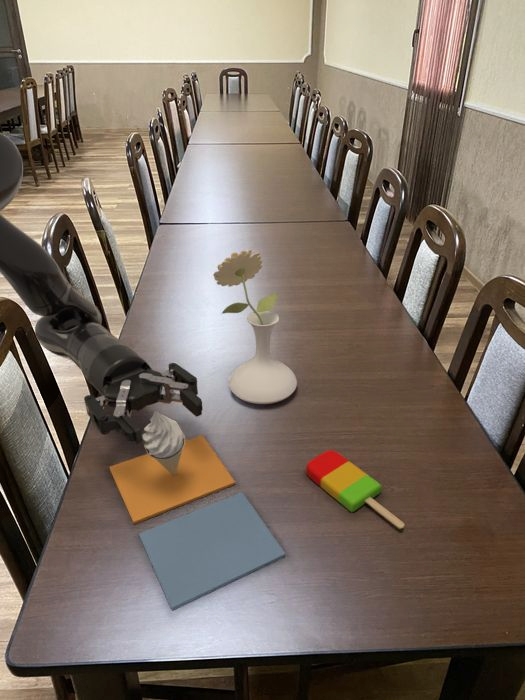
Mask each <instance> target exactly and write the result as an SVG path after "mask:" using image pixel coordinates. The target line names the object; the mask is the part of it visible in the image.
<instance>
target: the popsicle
mask: <svg viewBox="0 0 525 700" xmlns="http://www.w3.org/2000/svg"><path fill="white" fill-rule="evenodd" d="M306 475H307V477H308V478H309V479H310V480H312V481H313V482H314V483H315V484H317V485H318V486H319V487H320V488H321V489H322V490H324V491H325V492H326V493H327V494H329V495H330V496H331V497H332V498H334V500H335V501H337V502H338V503H340V504H341V505H342V506H343V507H344V508H345V509H347V510H348V511H349V512H351V513H354V512H355V511H356V510H358V509H360V508H362V506H364V505H365V504H367V505H368V506H369V507H370V508H372V509H373V510H374V511H375V512H377V513H378V514H379V515H381V516H382V517H383V518H384V519H386V520H387V521H388V522H390V523H391V524H392V525H393V526H394V527H396V528H397V529H399V530H403V529H404V528H405V523H404V522H403V521H402V520H401V519H399V518H398V517H397V516H396V515H394V514H393V513H392V512H390V511H389V510H388V509H387V508H386V507H384V506H383V505H381V504H380V503H379V502H378V501H376V500H375V499H374V498H375V497H376V496H379V494H381V492H382V489H383V486H382V484H381V483H379V482H378V481H377V480H375V479H374V478H373V477H372V476H370V475H369V474H367V473H366V472H365V471H363V470H362V469H360V468H359V467H358V466H357V465H355V464H353V463H352V462H351V461H349V459H347V458H345V457H344V456H343V455H341V454H340V453H339V452H337V451H335V450H333V449H330V450H326V451H324V452H322V453H321V454H319V455H317V456H316V457H314V458H312V459H311V460H309V461H308V462H307V464H306Z"/></svg>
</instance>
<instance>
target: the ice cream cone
mask: <svg viewBox="0 0 525 700" xmlns="http://www.w3.org/2000/svg"><path fill="white" fill-rule="evenodd" d="M149 421H150V423H148V424H147V425H146V426H145V427H144V429H143V431H144V432H145V433H142V439H143V447H144V450H145V451H146V454H149V455H150V456H151V457H153V458H155V459H156V460H157V461H158V462H159V463H160V464H161V465H162V466H163V467H164V468H165V469H167V470H168V471H169V472H170V473H171V474H172V475H176V472H177V468H178V464H179V460H180V456H181V453H182V449H183V447H184V445H185V441H186V436H185V434H184V431H183V430H182V429H181V426H180V425H179V424H178V421H176V420H174V419H173V418H171V417H170V418H169V417H168V416H167V415H164V414H161V413H159V412H158V411H157V410H154V412H153V415H152V416H151V418H149Z"/></svg>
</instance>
